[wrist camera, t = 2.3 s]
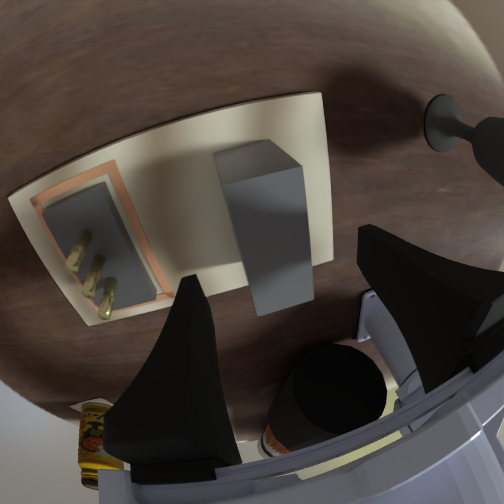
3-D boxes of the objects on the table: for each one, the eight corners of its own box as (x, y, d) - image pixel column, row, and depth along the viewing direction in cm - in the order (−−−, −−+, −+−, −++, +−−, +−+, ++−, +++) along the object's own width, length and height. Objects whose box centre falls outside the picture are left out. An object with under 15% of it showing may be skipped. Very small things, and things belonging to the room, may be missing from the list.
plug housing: (269, 139, 15) (302, 166, 11) (287, 248, 19) (314, 299, 15) (212, 152, 15) (222, 185, 11) (241, 261, 19) (257, 316, 15)
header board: (314, 91, 14) (359, 100, 10) (327, 252, 22) (357, 295, 18) (14, 191, 13) (-24, 230, 9) (90, 317, 20) (80, 366, 16)
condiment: (100, 396, 28) (97, 484, 18) (144, 419, 33) (149, 495, 23) (68, 404, 28) (63, 481, 19) (111, 426, 33) (112, 495, 24)
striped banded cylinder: (250, 422, 50) (235, 466, 42) (302, 332, 28) (280, 422, 20) (297, 435, 48) (285, 478, 41) (387, 355, 27) (384, 441, 19)
